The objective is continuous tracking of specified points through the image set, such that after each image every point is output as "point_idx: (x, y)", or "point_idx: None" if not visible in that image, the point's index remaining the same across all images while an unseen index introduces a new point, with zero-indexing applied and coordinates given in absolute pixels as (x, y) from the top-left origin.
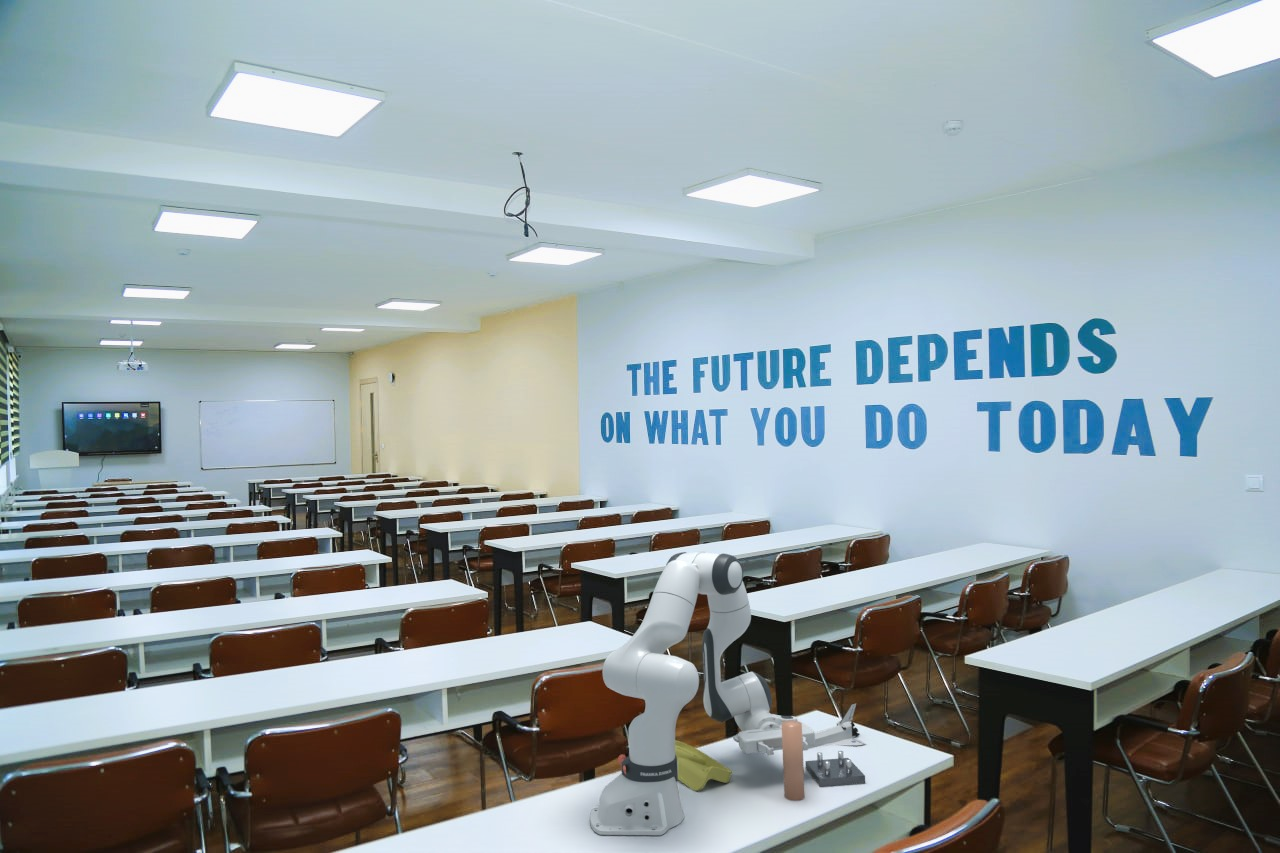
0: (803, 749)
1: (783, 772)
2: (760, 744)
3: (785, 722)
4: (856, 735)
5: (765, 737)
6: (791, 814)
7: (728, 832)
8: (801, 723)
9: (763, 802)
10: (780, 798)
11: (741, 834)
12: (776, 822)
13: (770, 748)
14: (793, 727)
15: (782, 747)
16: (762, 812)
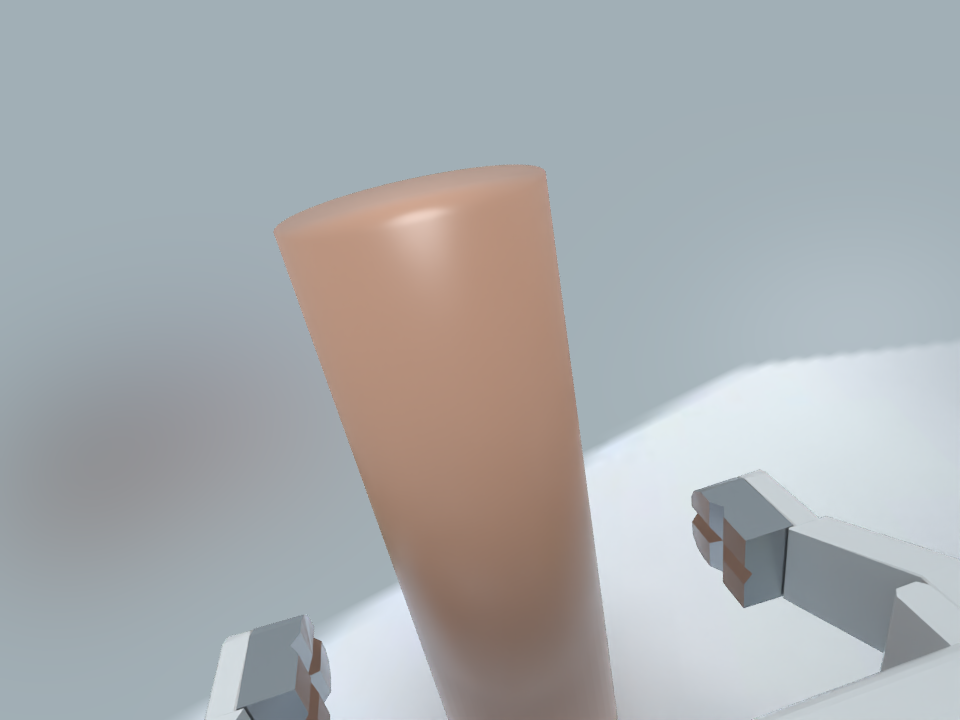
0: (319, 649)
1: (605, 633)
2: (929, 550)
3: (480, 193)
4: None
5: (936, 688)
6: None
7: (844, 396)
8: (284, 220)
9: (767, 649)
10: (651, 715)
11: (783, 393)
12: (653, 467)
13: (732, 480)
14: (426, 179)
15: (581, 453)
16: None
